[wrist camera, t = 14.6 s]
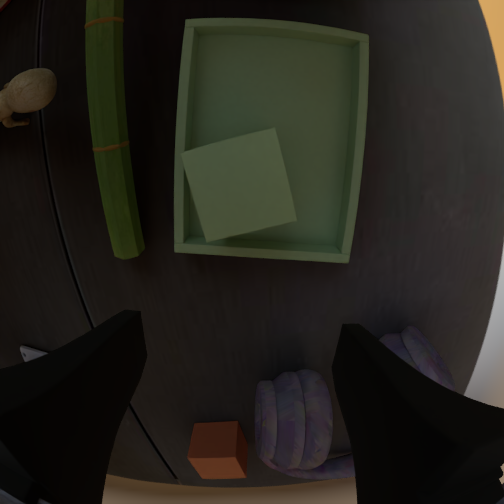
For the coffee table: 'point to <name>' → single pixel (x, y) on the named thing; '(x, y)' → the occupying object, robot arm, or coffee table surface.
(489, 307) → the coffee table surface
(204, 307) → the coffee table surface
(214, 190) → the sage block
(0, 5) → the book
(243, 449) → the terracotta block
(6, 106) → the figurine
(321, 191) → the sage tray
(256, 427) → the headphones
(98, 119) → the decorative plant
